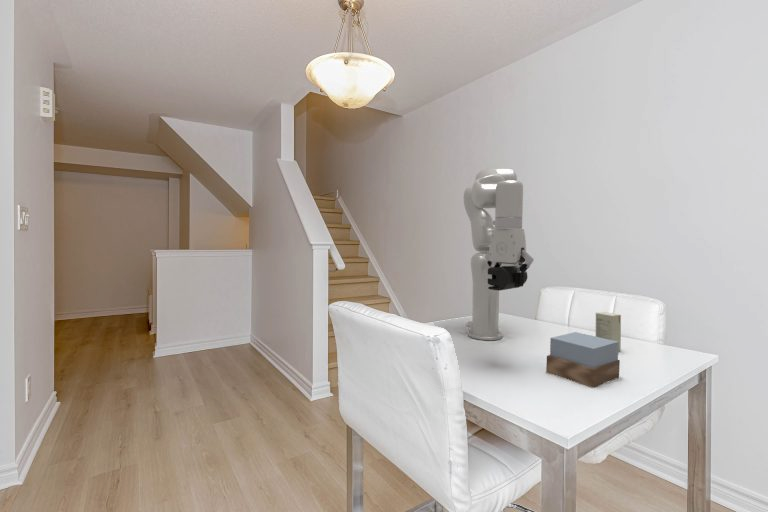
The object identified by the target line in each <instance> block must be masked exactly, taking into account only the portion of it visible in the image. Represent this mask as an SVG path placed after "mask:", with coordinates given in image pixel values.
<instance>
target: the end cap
mask: <svg viewBox="0 0 768 512" xmlns="http://www.w3.org/2000/svg"><path fill="white" fill-rule="evenodd" d="M519 267H520V266H519ZM515 273H517V271H516V269H515V267H514V266H501V267H491V268H488V274H490V275H495V276H496V279H488V284H489V285H492V286H490V287H488V289H491V290H498V291H499V292H500V291H505V290H511V289H517V288H520V287H515V286H514V280H515ZM527 280H528V272H527V271H526V272H525V273H524V283H523V285H524V284H525V283H526V282H527Z"/></svg>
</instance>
